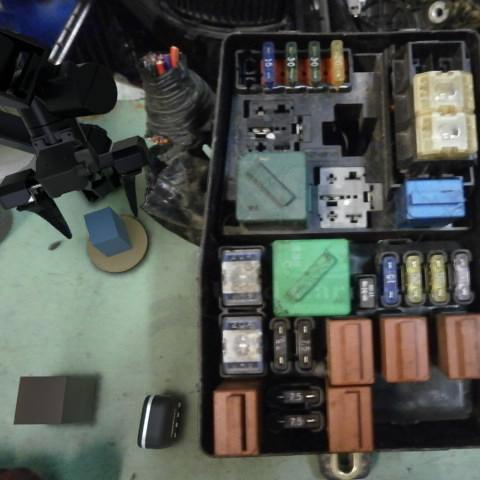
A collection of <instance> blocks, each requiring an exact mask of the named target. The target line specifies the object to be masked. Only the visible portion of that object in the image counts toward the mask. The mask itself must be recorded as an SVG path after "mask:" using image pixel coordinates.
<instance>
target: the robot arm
mask: <svg viewBox="0 0 480 480" xmlns="http://www.w3.org/2000/svg"><path fill="white" fill-rule="evenodd" d="M52 51H53V49H52V47H51V46H48V45H46V44H44V43H41V42H38V40H37V38H36V37H34V36H30V35H27V34H24V33H21V32H17V31H14V30H11V29H8V28H5V27H1V26H0V106H3V107H7V108H13V109H16V111H17V113H18V114H14V113H11V112H8V111H6V110H3V109H2V110H1V109H0V145H1V146H4V147H8V148H10V149H14V150H17V151H21V152H25V153H28V154H30V155H31V154H32V155H34V156H35V170H34V168H32V167H30V168H26V169H24V170H20V171H17V172H13V173H10V174H6V175H5V176H4V178H3V179H2V181H1V182H0V206H1V208H2V209H3V211H8V210H12V209H15V210H16V211H17V212H19V213H22V212H29V213H30V212H31V213H32V214H35V215H37V216H39V217H40V218H42V219H43V220H44V221H46V222H47V223H48V224H49V225H51V226H52V227H53V228H54V229H55V230H57V231H58V232H59V233H60V234H61V235H63V237H65V239H67V240H72V239H73V233H72V231H71V228H70V226H69V224H68V222H67V220H66V218H65V216H64V215H63V213H62V212H61V210H60V208H59V206H58V205H57V203H56V201H55V199H57V198H61V197H62V195H66V194H68V193H73V192H79V191H81V192H82V193H83V195H84V196H85V198H86V199H87V201H88V202H89V203H91V204H93V203H95V202H97V201H99V200H100V199H104V198H106V197H107V196H109V195H111V194H112V193H114V192H115V191H116V190H118V189H119V188H120V187H123V190H124V193H125V196H126V199H127V202H128V206H129V209H130V211H131V213H132V215H133V216H134V218H139V211H138V208H139V207H138V199H137V198H138V197H137V188H136V187H137V185H136V177H137V176H138V175H140V174H142V173H143V169H144V167H147V166H148V165H149V164H150V163H151V162H150V160H151V157H150V156H151V152H150V148H149V146H148V144H147V141H146V140H145V138H144V137H143V136H141V135H139V134H136V135H134V136H130V137H127V138H124V139H121V140H117V141H115V142H113V140H112V139H111V138H110V137H109V136H108V131H107V130H106V129H105V128H103V127H101V126H100V125H98V124H94V123H93V124H92V123H83V122H80V121H79V120H78V118H83V117H93V116H103V115H107V114H109V113H111V112H112V111H113V110H114V108H115V107H116V105H117V103H118V97H119V93H118V86H117V83H116V79H115V77H114V76H113V74H112V73H111V71H110V70H109V69H108V68H107V67H106V66H105V65H103V64H99V63H96V62H92V61H91V62H84V63H78V64H76V63H75V62H74V61H71V60H67V61H62V62H61V63H59V64H54V63H52V62H51V61H50V60H49V59H50V55H51V54H52ZM22 53H26V54H27V56H26V58H25V61H24V64H23V67H22V68H20V67H19V66H18V65H19V63H20V60H21V59H22Z"/></svg>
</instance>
